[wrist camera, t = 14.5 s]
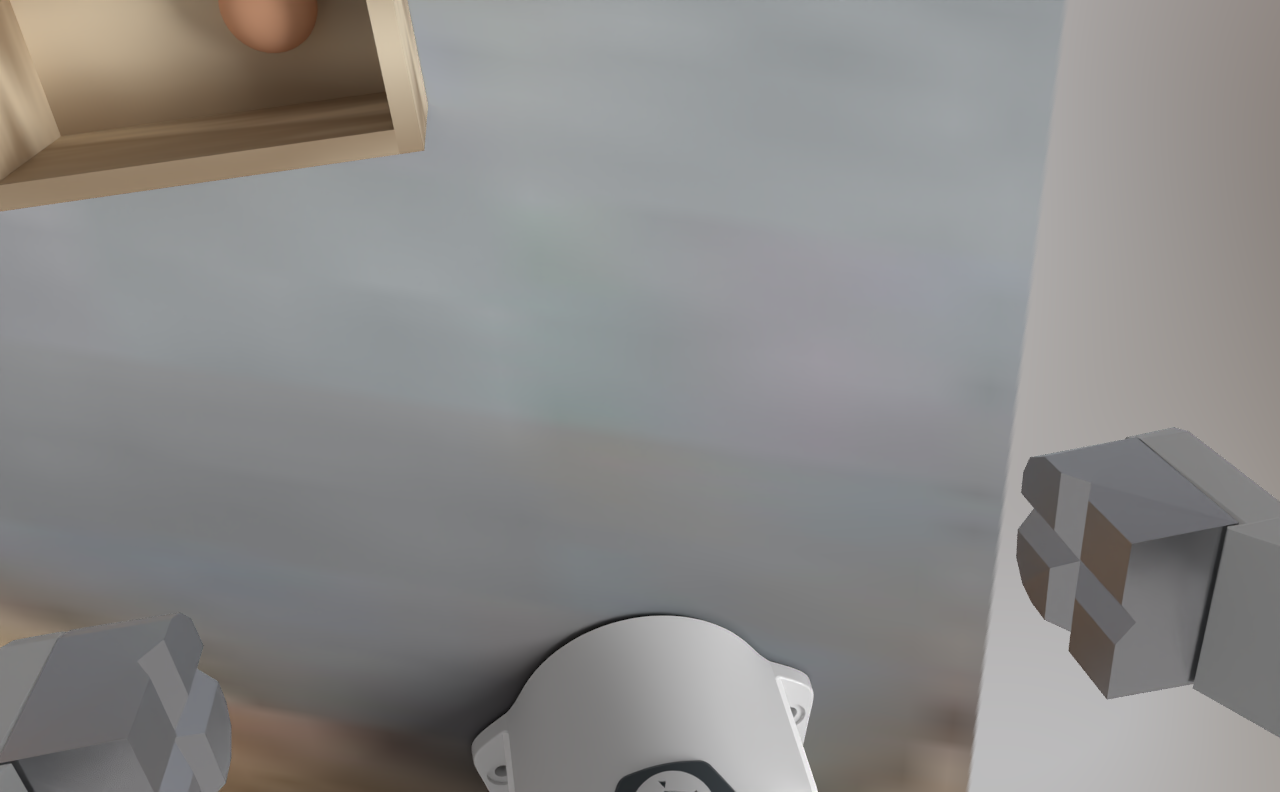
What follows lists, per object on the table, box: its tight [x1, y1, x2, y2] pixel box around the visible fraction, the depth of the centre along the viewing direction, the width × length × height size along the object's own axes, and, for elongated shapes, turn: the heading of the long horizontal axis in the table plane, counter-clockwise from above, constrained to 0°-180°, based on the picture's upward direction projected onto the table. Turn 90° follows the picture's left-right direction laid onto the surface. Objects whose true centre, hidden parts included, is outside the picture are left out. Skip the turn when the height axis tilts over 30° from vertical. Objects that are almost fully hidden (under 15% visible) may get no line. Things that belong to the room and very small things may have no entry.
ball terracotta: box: [218, 0, 318, 53], centre depth 35 cm, size 3×3×3 cm
